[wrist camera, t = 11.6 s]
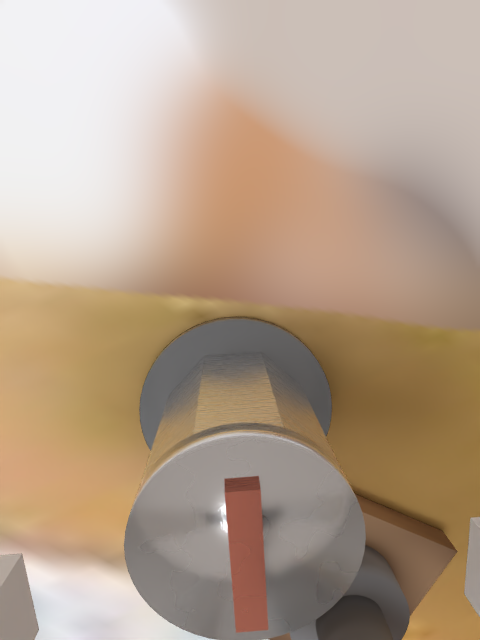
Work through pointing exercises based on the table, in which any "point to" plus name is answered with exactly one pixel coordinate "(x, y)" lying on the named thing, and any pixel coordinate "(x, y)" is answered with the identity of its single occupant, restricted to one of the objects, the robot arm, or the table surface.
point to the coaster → (229, 340)
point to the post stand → (384, 579)
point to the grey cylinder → (242, 507)
